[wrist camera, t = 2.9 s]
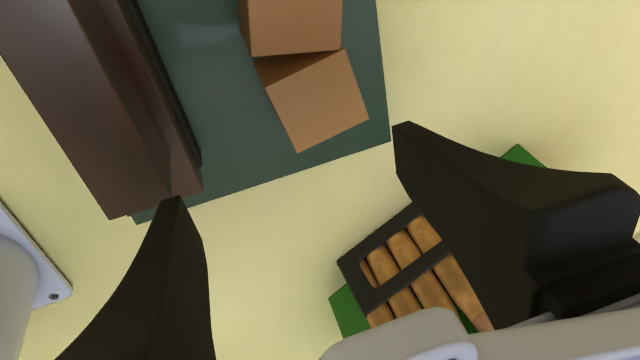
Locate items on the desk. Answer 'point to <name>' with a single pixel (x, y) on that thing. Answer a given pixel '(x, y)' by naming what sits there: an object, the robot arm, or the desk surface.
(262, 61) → the cardboard box
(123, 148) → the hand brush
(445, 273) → the ammunition clip
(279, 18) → the light brown cube
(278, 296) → the desk surface
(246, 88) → the desk board
